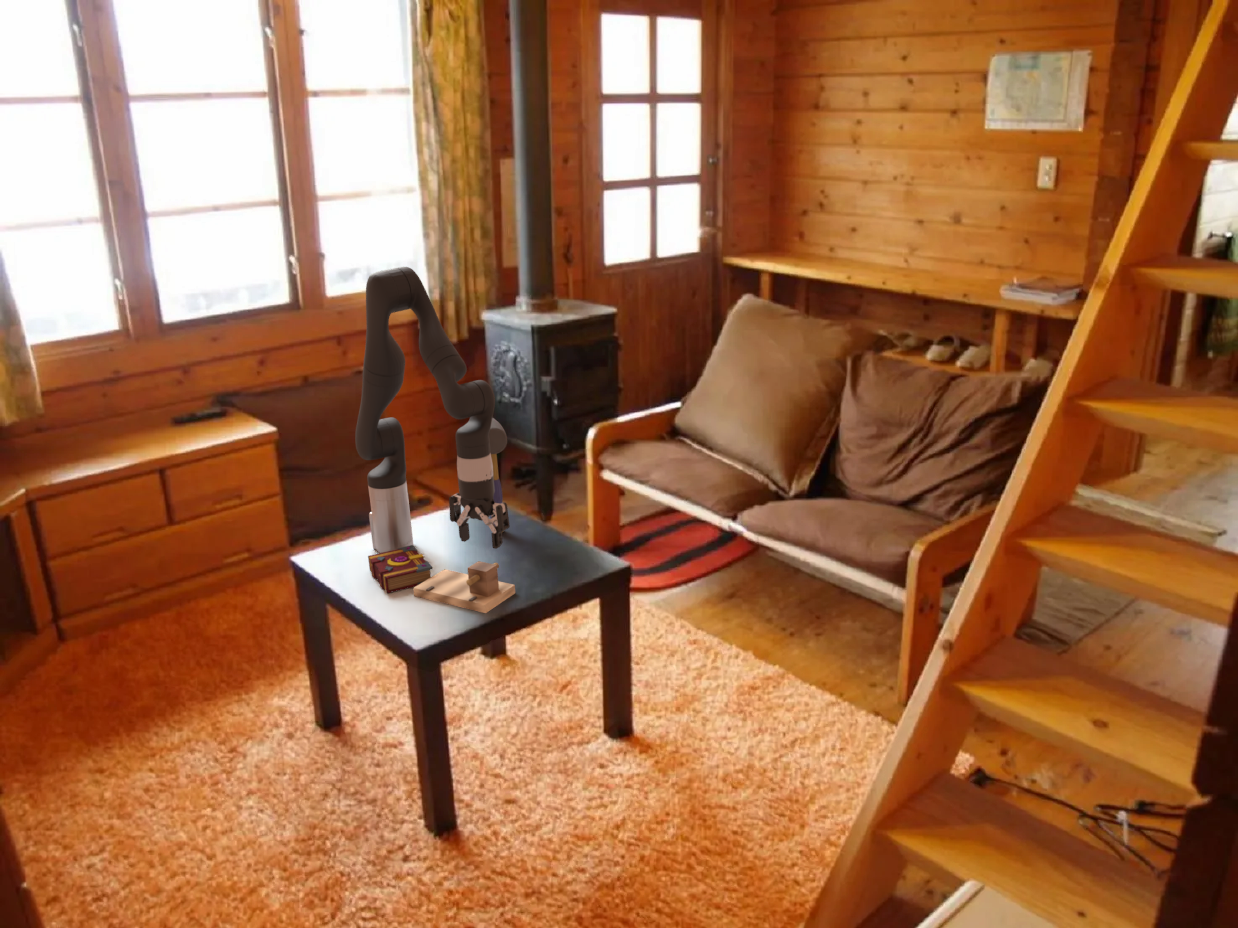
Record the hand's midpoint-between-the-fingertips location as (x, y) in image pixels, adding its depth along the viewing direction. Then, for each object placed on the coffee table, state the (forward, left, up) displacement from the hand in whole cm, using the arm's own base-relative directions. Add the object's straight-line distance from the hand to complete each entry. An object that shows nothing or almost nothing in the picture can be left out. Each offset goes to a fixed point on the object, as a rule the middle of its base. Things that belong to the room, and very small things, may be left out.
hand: (481, 543), depth 228 cm
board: (-6, 0, -13) cm, 15 cm away
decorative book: (-26, +1, -14) cm, 29 cm away
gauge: (0, 0, -11) cm, 11 cm away
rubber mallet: (-21, +33, -14) cm, 41 cm away
